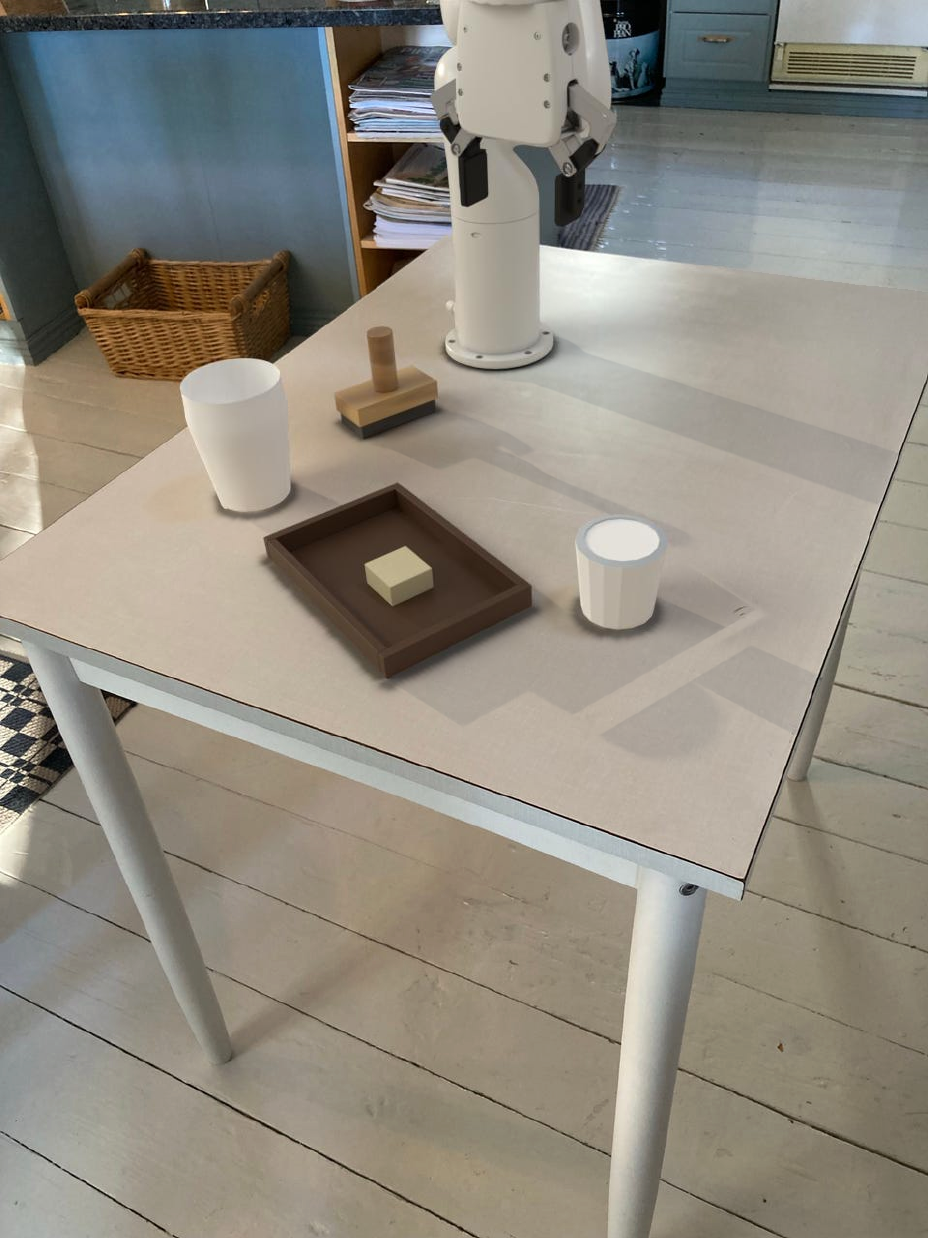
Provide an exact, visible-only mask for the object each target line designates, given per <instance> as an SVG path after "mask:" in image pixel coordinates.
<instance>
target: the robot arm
mask: <svg viewBox="0 0 928 1238" xmlns="http://www.w3.org/2000/svg"><path fill="white" fill-rule="evenodd" d="M439 6H440V14H441V19H442V24H443V29H444V31H445V34H446V36H447V38H448V40H449V41H450V42H451V44H452V45H453V47H451V48H449V49H447V51H446V52H445V53H443V54H442V56H441V57H440V58H439V60H438V62H437V65H436V68H435V71H434V78H433V79H434V80H433V81H434V85H433V86H434V91H433V92H432V93H430V96H429V99H430V102H431V106H432V108H433V110H434V112H435V114H436V117H437V119H438V120H439V129H440V131H441V135H442V140H443V147H444V152H445V158H446V160H445V161H446V165H447V166H446V167H447V178H448V188H449V204H450V215H451V217H450V218H451V219H450V220H451V234H452V251H453V269H454V284H455V287H454V288H455V298H454V300H453V299H449V300H448V301H447V302H446V304H445V309H446V311H448V313H449V312H450V313H451V314H453V315H454V326H455V327H453V328H452V329H451V330H450V331H449V332H448V333H447V334H446V336H445V341H444V343H445V351H446V353H447V355H448V356H449V357H450V358H451V359H452V360H454V361H456V362H458V363H460V364H462V365H465V366H468V367H472V368H477V369H478V368H479V369H484V370H485V369H486V370H505V369H513V368H518V367H519V368H520V367H522V366H523V367H524V366H527V365H530V364H532V363H535V362H537V361H539V360H541V359H543V358H544V357H546V356H547V355H548V354H549V353H550V352H551V351H552V350H553V346H554V334H553V331H552V330H551V329H550V327H548V326H547V325H546V324H544V323H543V322H541V283H540V281H541V280H540V279H541V278H540V277H541V275H540V273H541V270H540V269H541V267H540V265H541V263H540V262H541V260H540V259H541V258H540V255H541V254H540V252H541V251H540V247H541V245H540V244H541V243H540V241H541V240H540V239H541V238H540V237H541V235H540V234H541V233H540V231H541V230H540V229H541V227H540V190H539V186H538V184H537V180H536V178H535V176H534V175H533V173H532V171H531V170H530V168H529V167H528V166H527V164H525V162H524V161H523V160H522V159H521V158H520V156H518V154H517V153H516V151H514V150H513V149H514V148H515V147H517V146H530V147H537V148H547V149H548V151H549V153H550V155H551V156H552V159H554V161H555V162H556V165H557V166H558V168H559V169H560V171H561V173H559V174H557V175H556V176H555V178H554V214H553V215H554V216H553V217H554V224H555V225H556V227H560V228H564V227H567V226H568V225H569V224H572V223H573V222H575V221H577V220H578V219H580V218H581V217H582V215H583V211H584V208H585V200H586V199H585V196H586V193H585V192H586V169H588V168H590V167H591V166H592V164H593V162H594V161H595V160H596V159H597V158H598V157H599V156H600V155H601V154H602V153H603V152H604V151H605V149H606V147H607V142H608V141H609V139H610V137H611V135H612V133H613V131H614V129H615V127H616V124H617V122H618V119H617V115H616V114H615V112H613V111H612V110H611V106H612V78H611V70H610V62H609V61H610V60H609V54H608V47H607V41H606V34H605V27H604V21H603V13H602V7H601V0H439ZM585 138H586V140H585V141H584V140H583V139H585Z"/></svg>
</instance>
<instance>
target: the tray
mask: <svg viewBox="0 0 928 1238" xmlns="http://www.w3.org/2000/svg"><path fill="white" fill-rule="evenodd" d="M262 538H263V543H264V547H265V553H266V556H267V558H268V559H269V560H270V561H271V563H273V564H274V565H275V567H276V568H278V569H279V571H280V572H281V573H283V574H284V575H285V577H286V578H287V579H289V581H290V582H291V583H292V584H293V585H294V586H295V587H296V589H298V590H299V591H300V592H301V594H303V595H304V597H306V598H307V599H308V600H309V602H311V603H312V604H313V606H315V608H316V609H317V610H318V611H319V612H320V613H322V615H323V616H324V617H325V618H326V620H328V621H329V622H330V623H331V624H332V625H333V626H334V627H335V628H336V629H337V630H338V631H339V632H340V633H341V635H342V636H344V637H345V638H346V639H347V640H348V642H350V644H352V645H353V647H355V648H356V649H357V651H358V652H359V653H360V654H361V655H362V656H363V657H364V658H365V659H366V660H367V661H368V662H369V664H371V665H372V666H373V667H374V668H375V669H376V670H377V671H378V672H379V673H380V674H381V675H382V676H383V677H384V678H385V679H386V680H388V679H389V678H392V677H393V676H395V675H397V674H399V673H401V672H404V671H405V670H407V669H409V668H411V667H413V666H415V665H417V664H419V663H421V662H424V661H425V660H427V659H429V658H431V657H434V656H436V655H437V654H439V653H441V652H443V651H445V650H447V649H449V648H451V647H453V646H455V645H457V644H459V643H461V642H463V641H465V640H468V639H470V638H471V637H473V636H475V635H478V634H479V633H481V632H483V631H485V630H487V629H489V628H491V627H493V626H495V625H497V624H499V623H501V622H503V621H505V620H507V619H509V618H511V617H512V616H515V615H517V614H519V613H521V612H523V611H525V610H527V609H528V608H531V607H532V606H533V589H532V587H533V586H532V584H530V583H529V582H528V581H526V579H524V578H523V577H522V576H520V575H519V574H517V573H516V572H515V571H513V569H511V568H510V567H508V566H507V565H506V564H504V563H503V562H502V561H501V560H499V559H498V558H497V557H495V556H494V555H493V554H492V553H491V552H489V551H487V550H486V548H484V547H483V546H481V545H480V544H479V543H477V542H476V541H475V540H474V539H472V538H471V537H469V536H468V535H467V534H466V533H464V531H462V530H461V529H459V528H458V527H457V526H456V525H454V524H453V523H452V522H451V521H449V520H447V518H445V517H444V516H443V515H441V514H440V513H439V512H437V511H436V510H435V509H433V508H432V507H431V506H429V504H427V503H426V502H424V501H423V500H422V499H420V498H419V497H418V496H416V494H414V493H413V492H411V491H410V490H409V489H408V488H406V487H405V486H403V485H402V484H401V483H399V482H394V483H392V484H390V485H387V486H385V487H382V488H380V489H378V490H375V491H373V492H371V493H368V494H365V495H363V496H361V497H357V498H356V499H354V500H351V501H348V502H346V503H344V504H342V505H338V506H336V507H334V508H331V509H329V510H326V511H323V512H322V513H320V514H316V515H314V516H311V517H309V518H306V519H305V520H302V521H299V522H297V523H294V524H293V525H290V526H287V527H285V528H282V529H280V530H278V531H275V532H273V533H270V534H268V535H265V536H263V537H262ZM404 546H406V547H407V548H408V549H410V550H411V551H412V552H413V553H414V554H416V555H417V556H418V557H419V558H420V559H422V560H423V561H424V562H425V563H426V564H427V565H429V566H430V567H431V568H432V575H433V586H434V587H433V588H431V589H429V590H427V591H425V592H423V593H421V594H418V595H416V596H414V597H412V598H410V599H408V600H406V601H404V602H401V603H399V604H397V605H395V606H391V605H390V604H389V603H388V602H387V601H386V600H385V599H384V598H383V597H382V596H381V595H380V594H379V593H378V592H376V591H375V590H374V589H373V588H372V587H371V586H370V585H369V584H368V583H367V577H366V570H365V564H366V563H368V562H370V561H373V560H375V559H377V558H379V557H382V556H384V555H386V554H388V553H391V552H393V551H395V550H398V549H400V548H402V547H404Z"/></svg>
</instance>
